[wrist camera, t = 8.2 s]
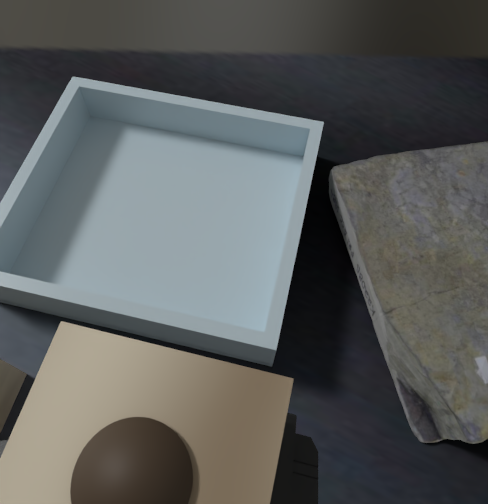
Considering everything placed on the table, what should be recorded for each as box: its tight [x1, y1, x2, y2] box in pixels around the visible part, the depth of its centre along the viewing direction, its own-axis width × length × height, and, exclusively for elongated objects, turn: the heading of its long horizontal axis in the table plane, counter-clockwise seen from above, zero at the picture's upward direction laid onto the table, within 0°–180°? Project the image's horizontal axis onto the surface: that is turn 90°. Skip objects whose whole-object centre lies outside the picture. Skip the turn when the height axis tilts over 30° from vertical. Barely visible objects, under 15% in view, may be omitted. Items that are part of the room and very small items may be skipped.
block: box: [0, 321, 294, 504], centre depth 12 cm, size 5×5×10 cm
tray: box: [0, 77, 324, 367], centre depth 30 cm, size 18×16×4 cm
